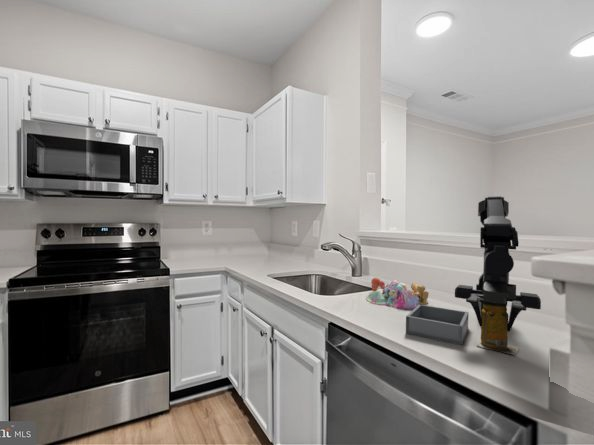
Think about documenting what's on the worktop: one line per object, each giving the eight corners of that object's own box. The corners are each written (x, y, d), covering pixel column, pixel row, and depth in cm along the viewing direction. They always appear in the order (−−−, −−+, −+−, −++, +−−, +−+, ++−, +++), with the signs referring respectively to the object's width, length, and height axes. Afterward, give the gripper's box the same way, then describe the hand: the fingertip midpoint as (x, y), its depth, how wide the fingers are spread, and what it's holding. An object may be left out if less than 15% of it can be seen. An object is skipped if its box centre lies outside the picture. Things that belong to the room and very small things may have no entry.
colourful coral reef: (419, 297, 139) (420, 276, 139) (438, 312, 115) (439, 287, 115) (363, 294, 141) (363, 274, 141) (370, 308, 118) (370, 284, 118)
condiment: (482, 339, 87) (483, 296, 87) (519, 348, 82) (520, 302, 82) (476, 346, 82) (477, 301, 82) (514, 356, 76) (516, 307, 76)
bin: (418, 319, 105) (419, 304, 105) (468, 328, 97) (468, 312, 96) (405, 333, 91) (406, 316, 91) (461, 345, 83) (462, 326, 83)
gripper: (452, 269, 81) (451, 329, 81) (544, 278, 70) (542, 346, 70) (458, 265, 90) (456, 318, 90) (539, 272, 80) (537, 333, 80)
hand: (494, 328), depth 82 cm, fingers closed on condiment, 6 cm apart
